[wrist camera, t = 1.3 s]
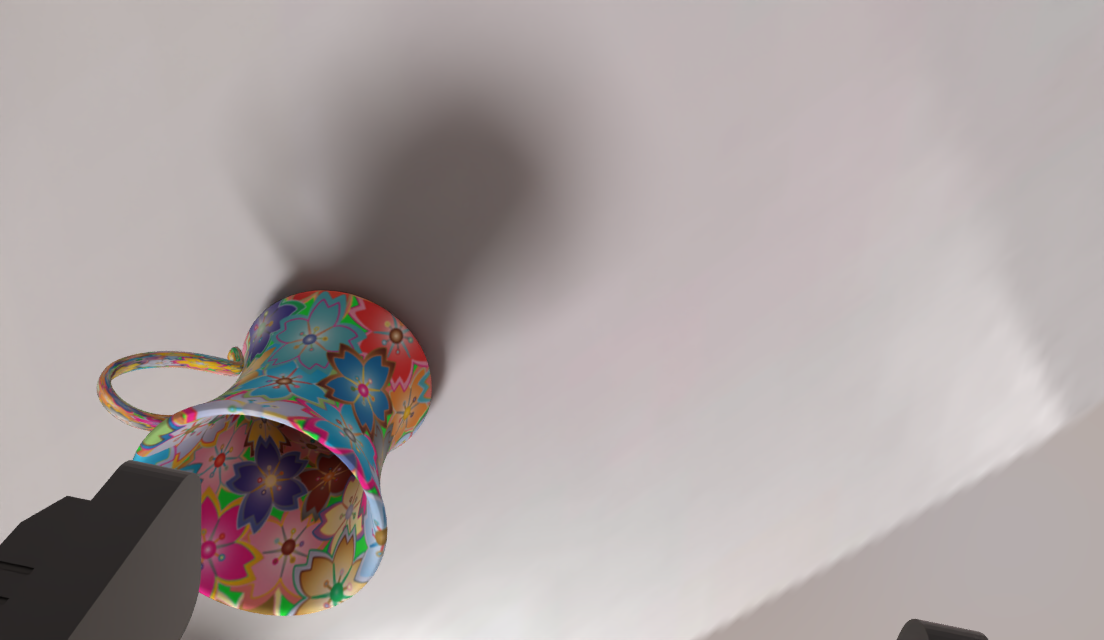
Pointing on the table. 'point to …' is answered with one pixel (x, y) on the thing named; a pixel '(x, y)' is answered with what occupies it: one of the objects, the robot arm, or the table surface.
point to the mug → (291, 448)
